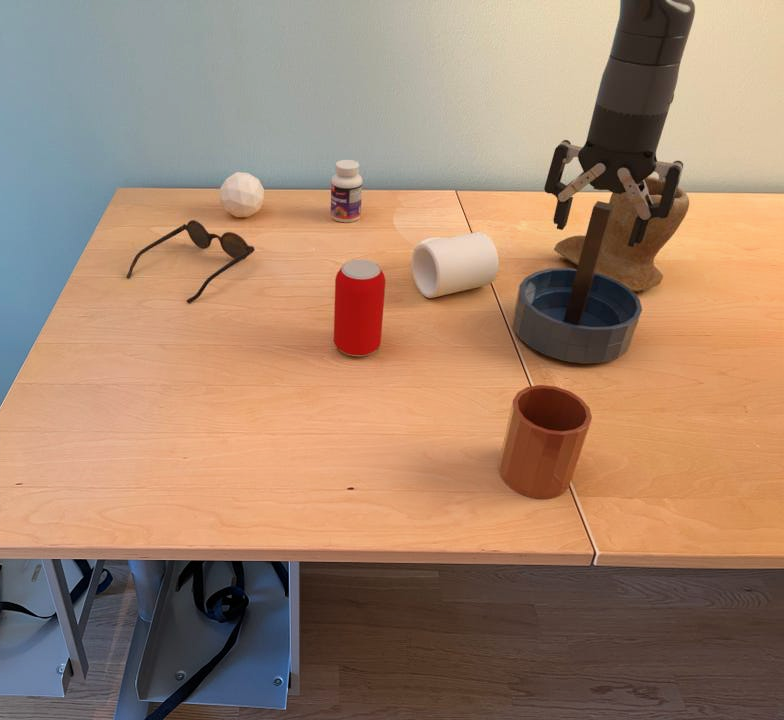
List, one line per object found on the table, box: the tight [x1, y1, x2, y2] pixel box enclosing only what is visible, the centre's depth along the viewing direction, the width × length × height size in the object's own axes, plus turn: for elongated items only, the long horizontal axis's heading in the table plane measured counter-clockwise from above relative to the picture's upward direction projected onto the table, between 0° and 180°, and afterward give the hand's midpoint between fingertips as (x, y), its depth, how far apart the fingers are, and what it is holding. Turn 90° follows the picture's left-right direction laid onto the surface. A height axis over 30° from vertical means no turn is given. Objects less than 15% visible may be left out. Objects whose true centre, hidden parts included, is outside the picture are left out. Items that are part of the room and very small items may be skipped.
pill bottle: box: [330, 159, 363, 223], centre depth 122 cm, size 5×5×10 cm
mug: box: [411, 231, 499, 299], centre depth 104 cm, size 12×10×8 cm
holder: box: [498, 384, 593, 500], centre depth 71 cm, size 7×7×9 cm
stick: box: [563, 200, 614, 326], centre depth 89 cm, size 2×2×18 cm
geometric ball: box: [219, 171, 265, 218], centre depth 123 cm, size 8×8×8 cm
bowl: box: [512, 267, 643, 364], centre depth 93 cm, size 15×15×6 cm
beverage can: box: [333, 259, 386, 357], centre depth 89 cm, size 6×6×12 cm
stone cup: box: [553, 176, 690, 292], centre depth 104 cm, size 15×12×15 cm
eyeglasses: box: [126, 219, 256, 304], centre depth 107 cm, size 15×15×5 cm
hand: (596, 235), depth 86 cm, fingers open, 8 cm apart
